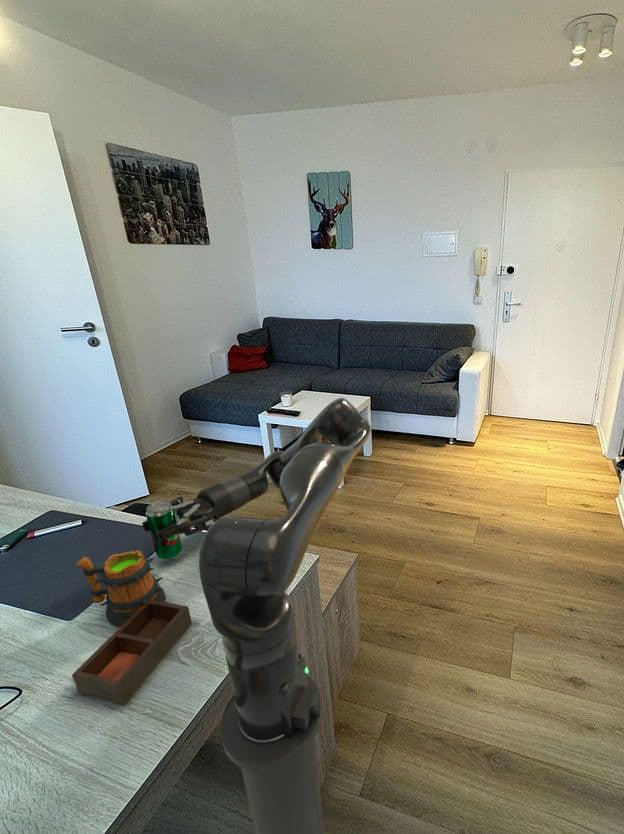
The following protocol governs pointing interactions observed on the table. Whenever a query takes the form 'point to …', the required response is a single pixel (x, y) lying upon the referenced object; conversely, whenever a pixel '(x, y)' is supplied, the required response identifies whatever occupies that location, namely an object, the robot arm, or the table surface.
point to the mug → (123, 584)
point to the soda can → (158, 519)
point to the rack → (132, 652)
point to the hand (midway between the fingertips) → (150, 532)
